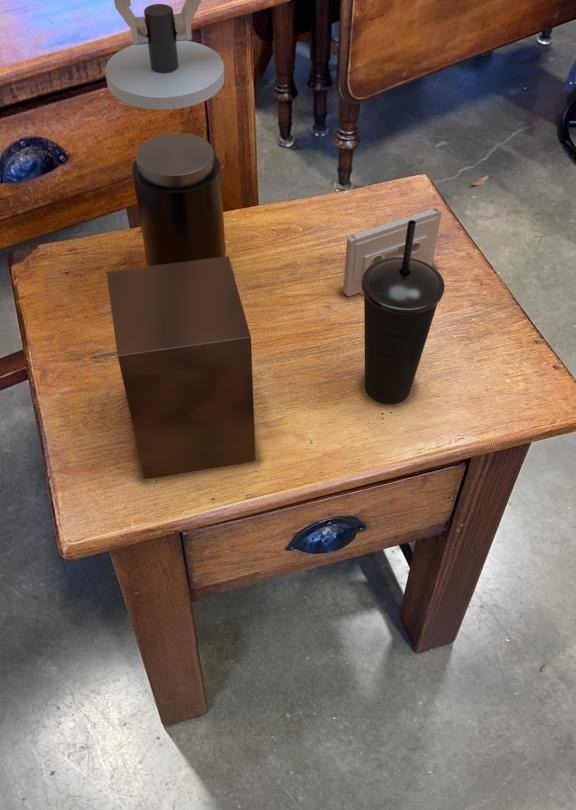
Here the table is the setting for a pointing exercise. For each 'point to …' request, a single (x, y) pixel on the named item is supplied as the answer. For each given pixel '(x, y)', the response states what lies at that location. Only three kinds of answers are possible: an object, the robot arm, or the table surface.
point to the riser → (185, 364)
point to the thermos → (179, 199)
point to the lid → (164, 68)
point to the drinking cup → (397, 321)
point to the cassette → (389, 246)
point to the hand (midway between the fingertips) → (162, 40)
